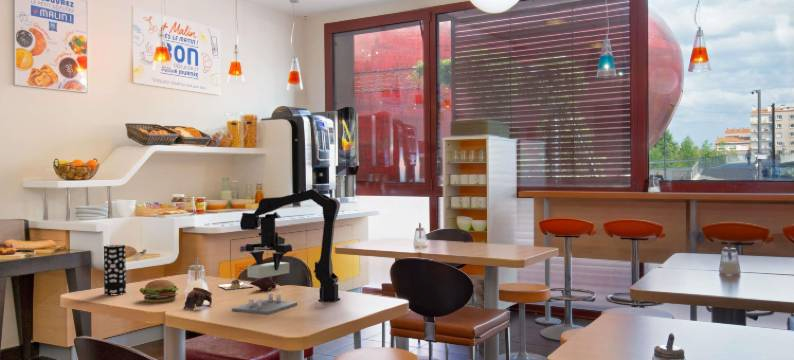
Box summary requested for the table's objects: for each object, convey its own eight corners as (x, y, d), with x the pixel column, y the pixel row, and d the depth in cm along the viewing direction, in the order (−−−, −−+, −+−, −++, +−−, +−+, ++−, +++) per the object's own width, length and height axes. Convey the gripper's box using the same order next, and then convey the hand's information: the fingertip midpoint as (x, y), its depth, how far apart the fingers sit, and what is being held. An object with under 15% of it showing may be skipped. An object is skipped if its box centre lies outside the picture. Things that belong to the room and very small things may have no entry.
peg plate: (297, 304, 251) (297, 294, 251) (269, 314, 234) (268, 302, 234) (261, 301, 257) (261, 291, 257) (232, 310, 241) (231, 299, 241)
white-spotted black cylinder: (130, 293, 280) (129, 245, 280) (112, 296, 273) (111, 247, 273) (117, 291, 285) (117, 244, 285) (100, 294, 278) (99, 246, 278)
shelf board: (289, 272, 265) (289, 262, 265) (259, 278, 252) (259, 267, 252) (277, 271, 269) (277, 261, 269) (247, 276, 256) (247, 266, 256)
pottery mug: (179, 308, 250) (188, 287, 253) (203, 317, 253) (211, 296, 257) (187, 304, 240) (196, 283, 244) (212, 314, 244) (220, 292, 247)
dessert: (253, 288, 291) (253, 277, 291) (226, 291, 285) (226, 280, 285) (244, 285, 301) (243, 274, 301) (217, 287, 295) (217, 276, 295)
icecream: (257, 278, 276) (284, 276, 288) (246, 272, 280) (273, 271, 292) (254, 294, 276) (280, 292, 288) (242, 288, 281) (269, 286, 293)
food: (172, 295, 274) (172, 276, 274) (181, 300, 262) (181, 280, 262) (137, 299, 266) (137, 279, 266) (145, 304, 254) (144, 284, 254)
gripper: (299, 228, 264) (300, 268, 264) (261, 227, 272) (262, 266, 272) (283, 231, 254) (283, 272, 254) (243, 230, 262) (244, 269, 262)
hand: (268, 269), depth 261 cm, fingers closed on shelf board, 7 cm apart
